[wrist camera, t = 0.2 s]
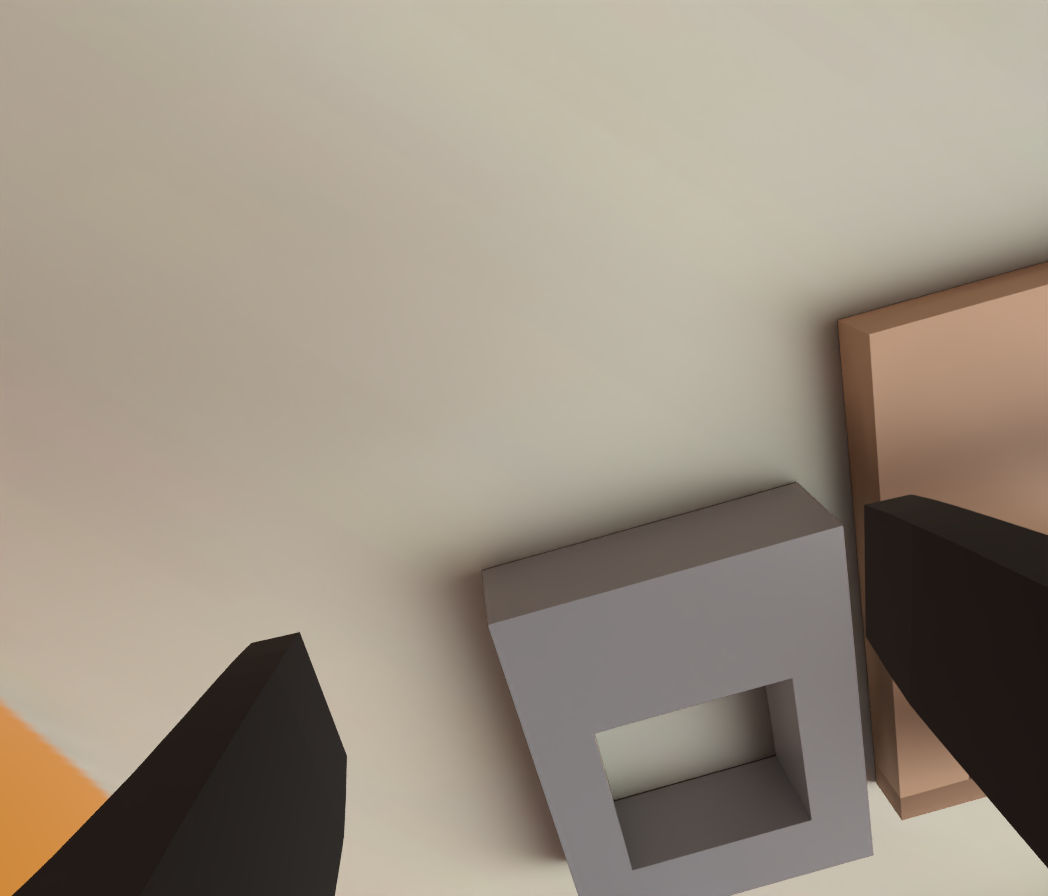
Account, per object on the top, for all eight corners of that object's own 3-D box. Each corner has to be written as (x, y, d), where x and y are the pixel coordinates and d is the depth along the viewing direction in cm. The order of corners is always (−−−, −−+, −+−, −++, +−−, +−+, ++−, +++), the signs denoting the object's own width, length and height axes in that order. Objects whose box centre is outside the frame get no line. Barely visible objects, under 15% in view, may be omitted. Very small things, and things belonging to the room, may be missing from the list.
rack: (833, 790, 25) (873, 855, 23) (577, 862, 25) (591, 934, 23) (797, 482, 20) (842, 525, 18) (482, 570, 20) (487, 624, 18)
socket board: (1159, 703, 25) (1200, 736, 24) (876, 783, 25) (902, 820, 24) (1218, 214, 19) (1280, 219, 17) (837, 320, 19) (869, 334, 17)
